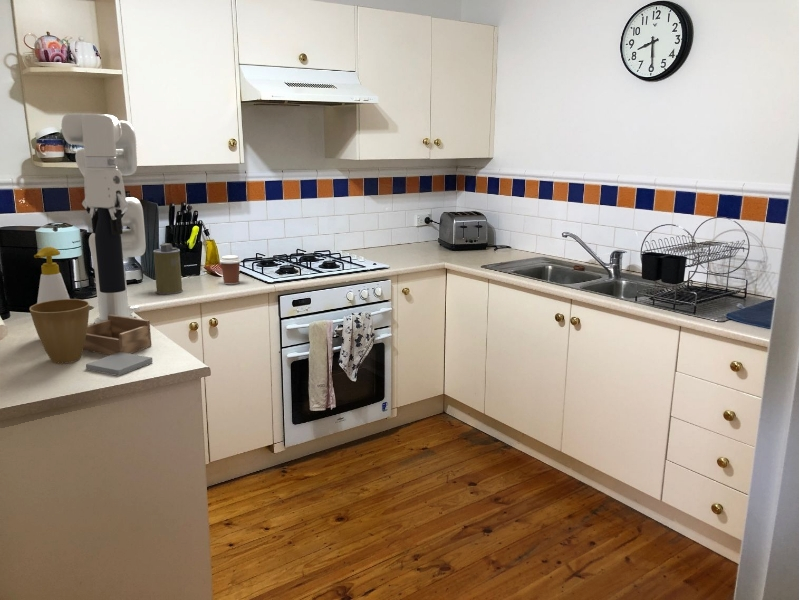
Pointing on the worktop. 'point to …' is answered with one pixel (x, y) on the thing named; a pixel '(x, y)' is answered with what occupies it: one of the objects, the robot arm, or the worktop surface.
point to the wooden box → (118, 335)
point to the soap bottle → (50, 278)
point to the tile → (119, 363)
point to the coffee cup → (230, 269)
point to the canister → (167, 270)
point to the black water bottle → (109, 255)
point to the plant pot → (62, 327)
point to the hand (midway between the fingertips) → (107, 233)
